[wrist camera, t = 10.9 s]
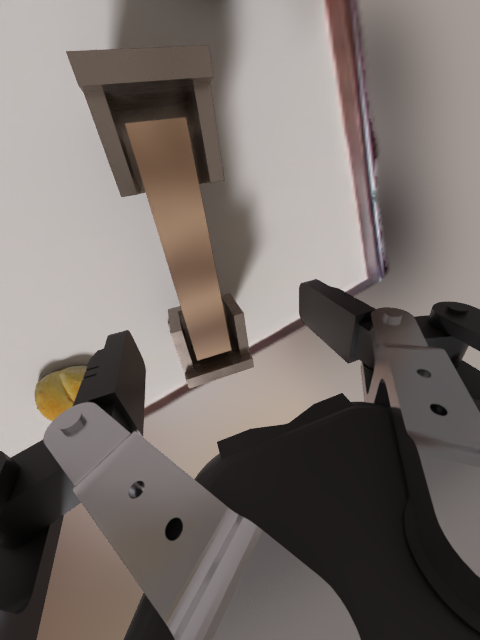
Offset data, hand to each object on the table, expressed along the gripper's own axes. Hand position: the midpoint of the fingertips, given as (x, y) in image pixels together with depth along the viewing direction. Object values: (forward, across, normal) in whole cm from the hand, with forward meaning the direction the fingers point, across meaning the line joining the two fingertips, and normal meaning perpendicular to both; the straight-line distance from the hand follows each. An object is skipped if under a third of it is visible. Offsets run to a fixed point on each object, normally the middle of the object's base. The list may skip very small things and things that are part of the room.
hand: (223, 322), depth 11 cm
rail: (+14, 0, 0) cm, 14 cm away
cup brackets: (+20, 0, 0) cm, 20 cm away
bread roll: (+20, +19, +16) cm, 32 cm away
